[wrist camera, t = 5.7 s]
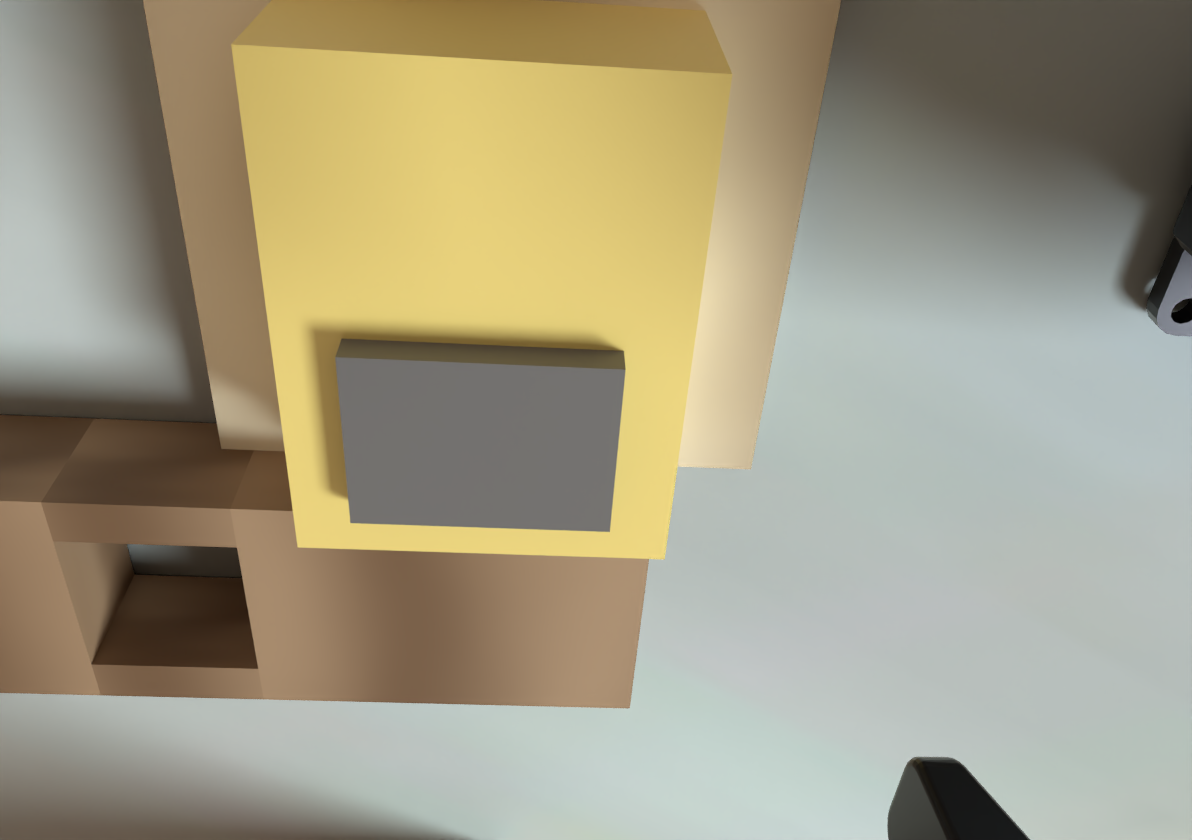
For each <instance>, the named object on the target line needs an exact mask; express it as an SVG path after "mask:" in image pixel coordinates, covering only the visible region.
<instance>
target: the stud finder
mask: <svg viewBox="0 0 1192 840" xmlns="http://www.w3.org/2000/svg"><path fill="white" fill-rule="evenodd" d="M231 48H232V55H233V63H234V70H235V78H236V85H237V93H238V101H239V108H240V116H241V123H242V131H243V138H244V146H245V153H246V161H247V169H248V176H249V184H250V191H251V199H252V206H253V214H254V221H255V229H256V237H257V244H258V252H259V259H260V267H261V274H262V282H263V289H264V297H265V305H266V312H267V320H268V327H269V335H270V342H271V350H272V357H273V365H274V373H275V380H276V388H277V395H278V403H279V410H280V418H281V425H282V433H283V441H284V448H285V456H286V463H287V471H288V478H289V486H290V493H291V501H292V509H293V516H294V524H295V531H296V539H297V546H298V547H299V548H330V549H361V550H392V551H422V552H453V553H484V554H514V555H545V556H576V557H607V558H637V559H665V552H666V545H667V538H668V531H669V523H670V516H671V509H672V502H673V495H674V488H675V481H676V474H677V466H678V459H679V452H680V445H681V438H682V431H683V424H684V416H685V409H686V402H687V395H688V388H689V381H690V374H691V366H692V359H693V352H694V345H695V338H696V331H697V324H698V317H699V309H700V302H701V295H702V288H703V281H704V274H705V267H706V259H707V252H708V245H709V238H710V231H711V224H712V217H713V209H714V202H715V195H716V188H717V181H718V174H719V167H720V160H721V152H722V145H723V138H724V131H725V124H726V117H727V110H728V102H729V95H730V88H731V81H732V72H731V70H730V67H729V65H728V63H727V60H726V58H725V55H724V53H723V51H722V48H721V46H720V44H719V41H718V39H717V37H716V34H715V32H714V30H713V27H712V25H711V22H710V20H709V18H708V15H707V13H706V11H702V10H687V9H671V8H655V7H639V6H623V5H607V4H591V3H576V2H560V1H544V0H271V1H270V3H269V4H268V5H267V6H266V7H265V8H264V9H263V10H262V11H261V12H260V13H259V15H258V16H257V17H256V18H255V19H254V20H253V21H252V22H251V23H250V24H249V25H248V26H247V28H246V29H245V30H244V31H243V32H242V33H241V34H240V35H239V36H238V37H237V38H236V40H235V41H234V42H233V43H232V44H231Z"/></svg>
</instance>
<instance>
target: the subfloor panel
mask: <svg viewBox="0 0 1192 840" xmlns="http://www.w3.org/2000/svg"><path fill="white" fill-rule="evenodd" d="M270 1H271V0H143V4H144V10H145V15H146V21H147V27H148V33H149V38H150V44H151V50H152V55H153V61H154V67H155V73H156V78H157V84H158V90H159V95H160V101H161V107H162V113H163V118H164V124H165V130H166V135H167V141H168V147H169V153H170V158H171V164H172V170H173V175H174V181H175V187H176V193H177V198H178V204H179V210H180V215H181V221H182V227H183V233H184V238H185V244H186V250H187V256H188V261H189V267H190V273H191V278H192V284H193V290H194V296H195V301H196V307H197V313H198V318H199V324H200V330H201V336H202V341H203V347H204V353H205V358H206V364H207V370H208V376H209V381H210V387H211V393H212V398H213V404H214V410H215V416H216V421H217V427H218V433H219V438H220V444H221V449H236V450H262V451H285V448H284V441H283V433H282V425H281V418H280V410H279V403H278V395H277V388H276V380H275V373H274V365H273V357H272V350H271V342H270V335H269V327H268V320H267V312H266V305H265V297H264V289H263V282H262V274H261V267H260V259H259V252H258V244H257V237H256V229H255V221H254V214H253V206H252V199H251V191H250V184H249V176H248V169H247V161H246V153H245V146H244V138H243V131H242V123H241V116H240V108H239V101H238V93H237V85H236V78H235V70H234V63H233V55H232V48H231V44H232V43H233V42H234V41H235V40H236V38H237V37H238V36H239V35H240V34H241V33H242V32H243V31H244V30H245V29H246V28H247V26H248V25H249V24H250V23H251V22H252V21H253V20H254V19H255V18H256V17H257V16H258V15H259V13H260V12H261V11H262V10H263V9H264V8H265V7H266V6H267V5H268V4H269V3H270ZM544 1H560V2H576V3H591V4H607V5H623V6H639V7H655V8H671V9H687V10H702V11H706V13H707V15H708V18H709V20H710V22H711V25H712V27H713V30H714V32H715V34H716V37H717V39H718V41H719V44H720V46H721V48H722V51H723V53H724V55H725V58H726V60H727V63H728V65H729V67H730V70H731V72H732V81H731V88H730V95H729V102H728V110H727V117H726V124H725V131H724V138H723V145H722V152H721V160H720V167H719V174H718V181H717V188H716V195H715V202H714V209H713V217H712V224H711V231H710V238H709V245H708V252H707V259H706V267H705V274H704V281H703V288H702V295H701V302H700V309H699V317H698V324H697V331H696V338H695V345H694V352H693V359H692V366H691V374H690V381H689V388H688V395H687V402H686V409H685V416H684V424H683V431H682V438H681V445H680V452H679V459H678V466H679V467H705V468H731V469H751V466H752V460H753V455H754V450H755V445H756V440H757V434H758V429H759V424H760V419H761V414H762V409H763V403H764V398H765V393H766V388H767V383H768V377H769V372H770V367H771V362H772V357H773V351H774V346H775V341H776V336H777V331H778V325H779V320H780V315H781V310H782V305H783V300H784V294H785V289H786V284H787V279H788V274H789V268H790V263H791V258H792V253H793V248H794V242H795V237H796V232H797V227H798V222H799V217H800V211H801V206H802V201H803V196H804V191H805V185H806V180H807V175H808V170H809V165H810V159H811V154H812V149H813V144H814V139H815V133H816V128H817V123H818V118H819V113H820V108H821V102H822V97H823V92H824V87H825V82H826V76H827V71H828V66H829V61H830V56H831V50H832V45H833V40H834V35H835V30H836V25H837V19H838V14H839V9H840V4H841V0H544Z"/></svg>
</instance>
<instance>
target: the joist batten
mask: <svg viewBox="0 0 1192 840" xmlns="http://www.w3.org/2000/svg"><path fill="white" fill-rule="evenodd" d="M127 544H144V545H174V546H205V547H235V548H237V551H238V556H239V562H240V568H241V573H242V578H221V577H189V576H157V575H134V571H133V567H132V563H131V559H130V555H129V551H128V547H127ZM648 562H649V559H637V558H607V557H576V556H545V555H514V554H484V553H453V552H422V551H392V550H361V549H330V548H299V547H298V546H297V539H296V531H295V524H294V516H293V509H292V501H291V493H290V486H289V478H288V471H287V463H286V456H285V451H262V450H236V449H221V444H220V438H219V433H218V427H217V423H193V422H168V421H143V420H118V419H93V418H67V417H42V416H17V415H0V693H32V694H73V695H113V696H153V697H193V698H234V699H274V700H314V701H355V702H395V703H435V704H476V705H516V706H556V707H597V708H630V701H631V693H632V686H633V678H634V670H635V662H636V655H637V647H638V639H639V632H640V624H641V616H642V608H643V601H644V593H645V585H646V578H647V570H648Z"/></svg>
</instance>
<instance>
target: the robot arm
mask: <svg viewBox="0 0 1192 840" xmlns="http://www.w3.org/2000/svg"><path fill="white" fill-rule="evenodd" d="M1173 233H1174V235H1175V236H1174V239H1173V241H1172V244H1171V246H1170V248H1169V251H1168V253H1167V255H1166V258H1165V260H1164V263H1163V265H1162V267H1161V270H1160V272H1159V274H1158V277H1157V279H1156V282H1155V284H1154V286H1153V289H1152V291H1151V294H1150V296H1149V298H1148V303H1147V308H1146V309H1147V312H1148V315H1149V317H1150V318H1151V319H1152V320H1153V321H1154V322H1155V324H1156V325H1157V326H1158V327H1159V328H1160V329H1161V330H1163V331H1164V332H1165V333H1167V334H1171V335H1177V336H1192V186H1191V188H1190V190H1189V193H1188V195H1187V198H1186V200H1185V202H1184V205H1183V207H1182V210H1181V212H1180V214H1179V217H1178V219H1177V222H1176V224H1175V226H1174V230H1173ZM1184 299H1189V301H1188V303H1187V304H1186V305H1185V307H1184V308H1182V309H1180V310H1179V311H1177V312H1171V311H1172V309H1173V308H1174V307H1175V305H1176V304H1177V303H1179V302H1180V301H1182V300H1184ZM887 826H888V839H889V840H1030V839H1029V838H1028V837H1027V836H1026V834H1025V833H1024V832H1023V831H1022V830H1021V829H1020V828H1019V827H1018V826H1017V824H1016V823H1015V822H1014V821H1013V820H1012V819H1011V818H1010V817H1009V815H1008V814H1007V813H1006V812H1005V811H1004V810H1003V809H1002V808H1001V806H1000V805H999V804H998V803H997V802H996V801H995V800H994V799H993V797H992V796H991V795H990V794H989V793H988V792H987V791H986V790H985V789H984V787H983V786H982V785H981V784H980V783H979V782H978V781H977V780H976V778H975V777H974V776H973V775H972V774H971V773H970V772H969V771H968V769H967V768H966V767H965V766H964V765H963V764H961V763H960V762H959V761H957V760H955V759H953V758H949V757H914V758H912V759H911V760H910V761H909V762H908V763H907V765H906V767H905V769H904V772H903V774H902V777H901V780H900V782H899V785H898V788H897V790H896V793H895V796H894V798H893V801H892V803H891V806H890V809H889V813H888V825H887Z"/></svg>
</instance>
